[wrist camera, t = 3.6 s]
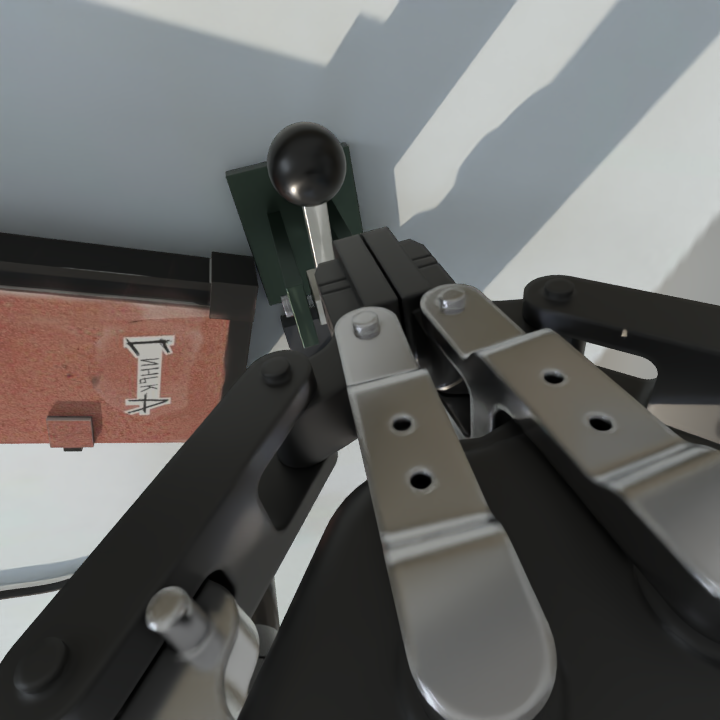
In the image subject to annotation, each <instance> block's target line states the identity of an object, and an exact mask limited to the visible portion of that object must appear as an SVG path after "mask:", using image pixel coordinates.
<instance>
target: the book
mask: <svg viewBox="0 0 720 720" xmlns="http://www.w3.org/2000/svg"><path fill="white" fill-rule="evenodd" d="M257 293H258V281H257V274H256V268H255V262H254V258H253V257H250V256H242V255H234V254H226V253H218V252H212V257H211V258H206V257H198V256H189V255H181V254H173V253H164V252H156V251H148V250H140V249H131V248H123V247H115V246H107V245H98V244H90V243H82V242H73V241H65V240H57V239H49V238H40V237H32V236H24V235H16V234H7V233H0V444H20V443H50V447H51V448H55V447H63V448H64V451H82V449H83V447H93V446H94V443H171V442H186V441H187V440H188V439H189V437H190V436H191V435H192V434H193V433H194V432H195V430H196V429H197V428H198V427H199V426H200V424H201V423H202V422H203V421H204V420H205V419H206V417H207V416H208V415H209V414H210V413H211V411H212V410H213V409H214V408H215V407H216V406H217V404H218V403H219V402H220V401H221V400H222V398H223V397H224V396H225V395H226V394H227V393H228V391H229V390H230V389H231V388H232V387H233V385H234V384H235V383H236V382H237V381H238V380H239V378H240V377H241V376H242V375H243V374H244V372H245V371H246V365H247V358H248V351H249V344H250V336H251V329H252V322H253V321H254V314H255V307H256V300H257Z"/></svg>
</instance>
